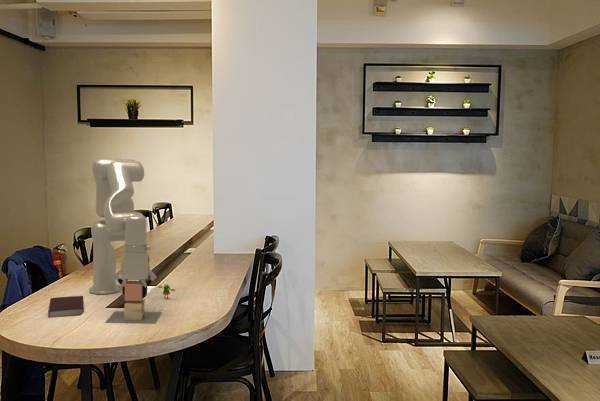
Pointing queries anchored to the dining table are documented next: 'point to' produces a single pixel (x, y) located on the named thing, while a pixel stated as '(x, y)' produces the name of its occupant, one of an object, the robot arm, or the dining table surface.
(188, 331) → the dining table surface
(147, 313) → the plate
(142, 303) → the maple block
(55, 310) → the book
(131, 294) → the terracotta block
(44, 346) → the dining table surface
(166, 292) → the toy character
